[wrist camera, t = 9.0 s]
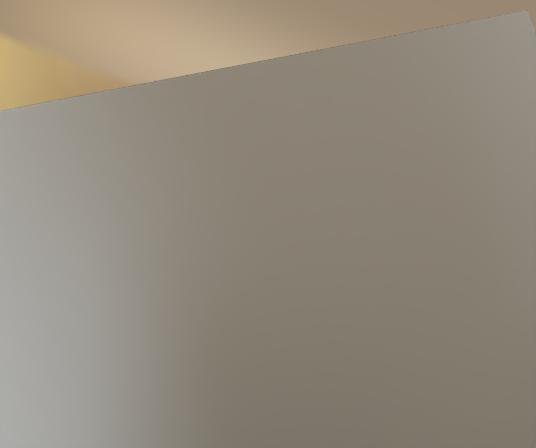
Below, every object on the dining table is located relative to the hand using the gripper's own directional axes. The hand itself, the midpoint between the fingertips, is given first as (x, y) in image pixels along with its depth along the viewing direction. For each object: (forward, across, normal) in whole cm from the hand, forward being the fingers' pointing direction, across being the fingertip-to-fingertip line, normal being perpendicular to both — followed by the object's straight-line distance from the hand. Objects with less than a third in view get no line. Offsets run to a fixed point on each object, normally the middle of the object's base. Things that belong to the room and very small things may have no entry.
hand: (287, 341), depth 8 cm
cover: (+6, 0, +6) cm, 9 cm away
